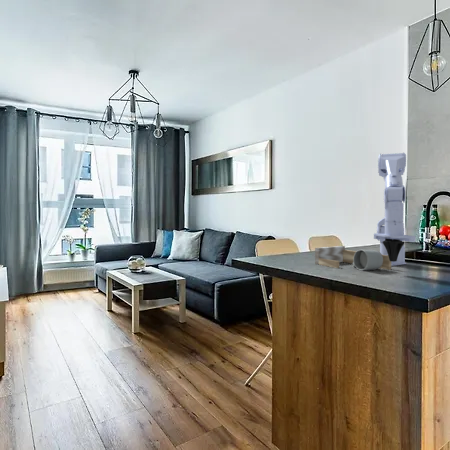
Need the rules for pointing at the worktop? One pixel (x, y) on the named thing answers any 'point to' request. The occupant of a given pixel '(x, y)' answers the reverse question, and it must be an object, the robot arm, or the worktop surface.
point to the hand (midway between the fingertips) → (393, 261)
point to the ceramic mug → (367, 259)
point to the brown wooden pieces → (341, 257)
